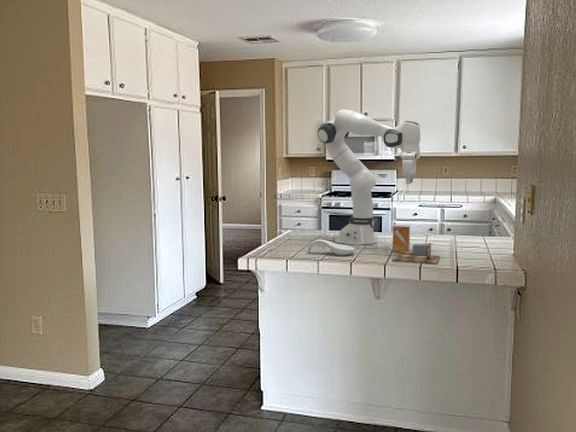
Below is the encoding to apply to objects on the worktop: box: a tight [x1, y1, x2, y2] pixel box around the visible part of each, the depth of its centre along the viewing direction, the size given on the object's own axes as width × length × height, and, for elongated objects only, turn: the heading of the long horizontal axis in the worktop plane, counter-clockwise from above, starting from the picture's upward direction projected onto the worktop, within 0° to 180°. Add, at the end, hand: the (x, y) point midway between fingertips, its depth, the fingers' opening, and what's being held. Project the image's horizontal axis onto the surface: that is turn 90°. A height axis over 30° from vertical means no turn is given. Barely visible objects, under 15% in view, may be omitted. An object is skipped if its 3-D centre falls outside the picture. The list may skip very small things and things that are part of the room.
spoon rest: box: [306, 239, 356, 256], centre depth 258 cm, size 24×12×7 cm, turn 80°
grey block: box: [412, 243, 427, 256], centre depth 242 cm, size 6×5×6 cm
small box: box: [392, 224, 411, 253], centre depth 264 cm, size 8×6×13 cm
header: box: [391, 242, 441, 265], centre depth 243 cm, size 20×15×8 cm
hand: (409, 183), depth 253 cm, fingers open, 8 cm apart
